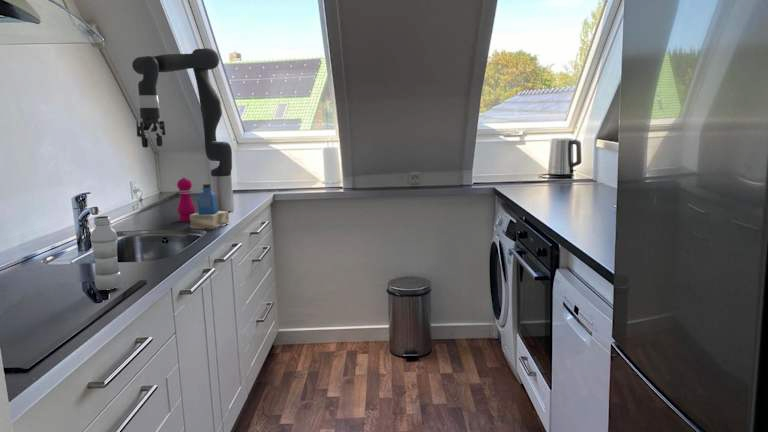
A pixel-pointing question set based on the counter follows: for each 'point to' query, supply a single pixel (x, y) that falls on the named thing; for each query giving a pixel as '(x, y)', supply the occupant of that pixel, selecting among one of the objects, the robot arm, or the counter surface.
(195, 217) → the birch block
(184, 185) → the pepper mill
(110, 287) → the plastic bottle
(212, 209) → the perfume bottle
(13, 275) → the counter surface
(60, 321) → the counter surface
